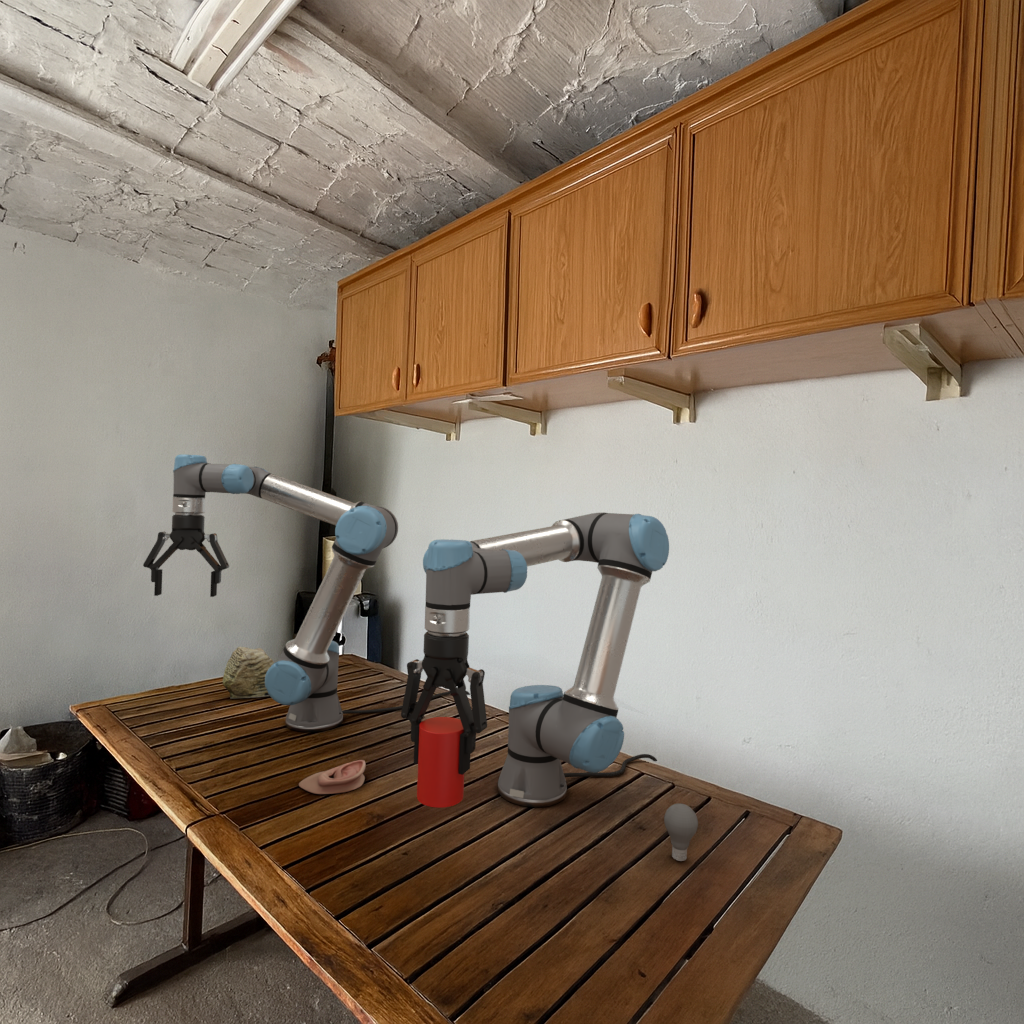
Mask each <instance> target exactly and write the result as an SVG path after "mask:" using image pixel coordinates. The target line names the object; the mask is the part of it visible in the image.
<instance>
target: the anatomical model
mask: <svg viewBox="0 0 1024 1024" xmlns="http://www.w3.org/2000/svg"><path fill="white" fill-rule="evenodd" d="M366 766H367V764H366V761H365V760H364V759H359V760H353V761H350V762H347V763H344V764H341V765H338V766H336V767H332V768H330V769H326V770H324V771H319V772H316V773H314V774H312V775H309V776H307V777H305V778H303V779H302V780H300V781H299V783H298V787H299V788H301V789H303V790H304V791H306V792H309V793H311V794H314V795H330V794H331V795H332V794H340V793H346V792H350V791H353V790H356V789H359V788H360V787H362V786H363V784H364V783H365V779H366V777H365V775H364V772H365V770H366Z"/></svg>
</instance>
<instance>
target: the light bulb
mask: <svg viewBox="0 0 1024 1024" xmlns="http://www.w3.org/2000/svg"><path fill="white" fill-rule="evenodd" d="M663 822H664V828H665V829H666V831H667V833H668V835H669V838H670V844H671V846H672V847H671V848H672V849H671V857H672V858H673V859H674V860H676V861H678V862H684V861H686V860H687V855H688V848H689V846H690V844H691V843H690V842H691V841H692V838H693V837H694V836H695V834H696V833H697V831H698V827H699V820H698V816H697V814H696V812H695V811H694V810H693V809H692V808H691V807H690V806H689V805H688V804H684V803H680V802H679V803H673V804H671V805H670V806H669V807H668V808H667V809H666V811H665V814H664V816H663Z"/></svg>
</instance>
